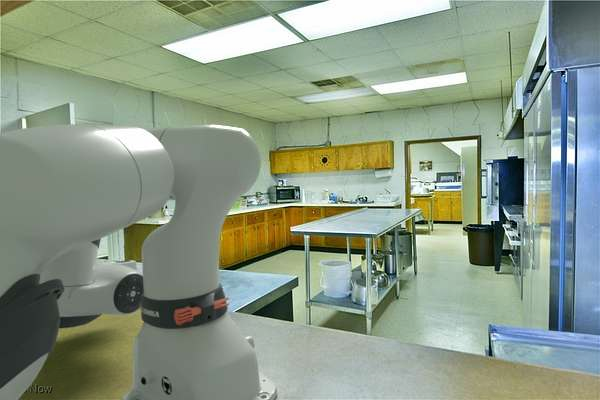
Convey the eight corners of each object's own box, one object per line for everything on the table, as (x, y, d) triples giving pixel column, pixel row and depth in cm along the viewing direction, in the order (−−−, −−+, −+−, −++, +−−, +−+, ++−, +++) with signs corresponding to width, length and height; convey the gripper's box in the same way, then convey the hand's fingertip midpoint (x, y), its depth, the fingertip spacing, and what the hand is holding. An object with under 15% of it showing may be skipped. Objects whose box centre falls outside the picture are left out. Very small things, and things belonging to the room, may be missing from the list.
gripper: (34, 312, 62) (13, 300, 71) (143, 286, 79) (116, 279, 87) (32, 277, 62) (12, 269, 71) (142, 259, 78) (115, 254, 87)
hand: (70, 274), depth 79 cm, fingers closed
